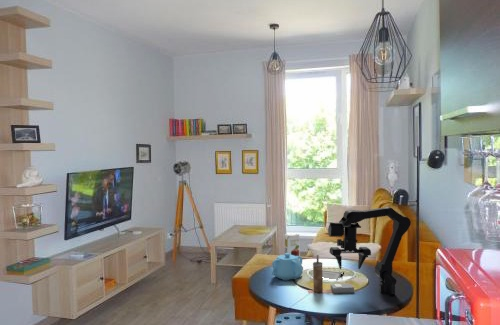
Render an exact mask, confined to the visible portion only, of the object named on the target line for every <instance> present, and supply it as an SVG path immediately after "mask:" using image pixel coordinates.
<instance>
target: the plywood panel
mask: <svg viewBox="0 0 500 325" xmlns="http://www.w3.org/2000/svg"><path fill="white" fill-rule="evenodd" d="M306 291H307V293H308V294H316V293H315V292H314V289H313V290H310V289H309V290H306ZM326 293H327V294H328V293H330V294H331V293H332V294H334V293H333V291H332V290H331V289H323V292H322V293H321V294H326Z"/></svg>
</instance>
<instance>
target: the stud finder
mask: <svg viewBox="0 0 500 325" xmlns="http://www.w3.org/2000/svg"><path fill="white" fill-rule="evenodd" d="M330 290H332V291H333V293H332V294H347V293H351V294H352V293H355V287H354V285H353V284H351V283H347V282H346V283H330Z"/></svg>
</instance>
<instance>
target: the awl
mask: <svg viewBox="0 0 500 325" xmlns="http://www.w3.org/2000/svg"><path fill="white" fill-rule="evenodd" d="M319 260H320V259H319V254H316V261H314V262H312V269H313V270H312V273H313V279H312V280H313V282H312V283H313V290H314V292H315V293H314V294H323V293H322V292H323V290H324V289H323V288H324V287H323V286H324V282H323V281H324V280H323V278H322V269H323V262H322V261H321V262H320V261H319Z"/></svg>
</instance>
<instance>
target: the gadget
mask: <svg viewBox="0 0 500 325" xmlns="http://www.w3.org/2000/svg"><path fill="white" fill-rule="evenodd" d="M339 271H340V270H338V271H327V270H322V277H324V278H329V279H336V280H337V279H338V278H339V277H340V278H341V276H342V275H341V273H342V272H339ZM311 276H312V277H313V272H312V273H311V275H310V277H311ZM310 277H309V279H311V278H310ZM340 278H339V279H340ZM339 279H338V280H339ZM311 280H312V279H311ZM338 280H337V281H338Z"/></svg>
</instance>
